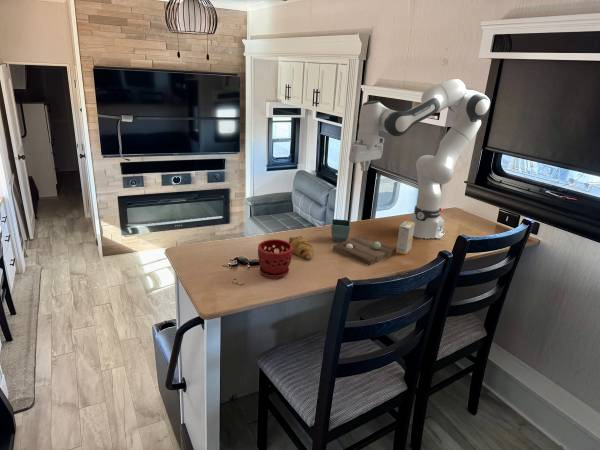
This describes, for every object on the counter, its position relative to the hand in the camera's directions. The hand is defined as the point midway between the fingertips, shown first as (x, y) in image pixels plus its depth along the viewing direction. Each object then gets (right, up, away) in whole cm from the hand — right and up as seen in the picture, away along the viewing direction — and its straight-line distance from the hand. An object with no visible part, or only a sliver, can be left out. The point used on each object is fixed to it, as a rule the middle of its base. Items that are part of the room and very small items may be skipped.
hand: (364, 170), depth 186 cm
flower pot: (-10, -32, +12) cm, 35 cm away
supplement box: (+18, -36, +3) cm, 41 cm away
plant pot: (-39, -44, -24) cm, 63 cm away
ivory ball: (-7, -34, -1) cm, 35 cm away
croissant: (-29, -37, -3) cm, 47 cm away
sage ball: (+5, -33, -3) cm, 34 cm away
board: (-1, -37, -1) cm, 37 cm away
